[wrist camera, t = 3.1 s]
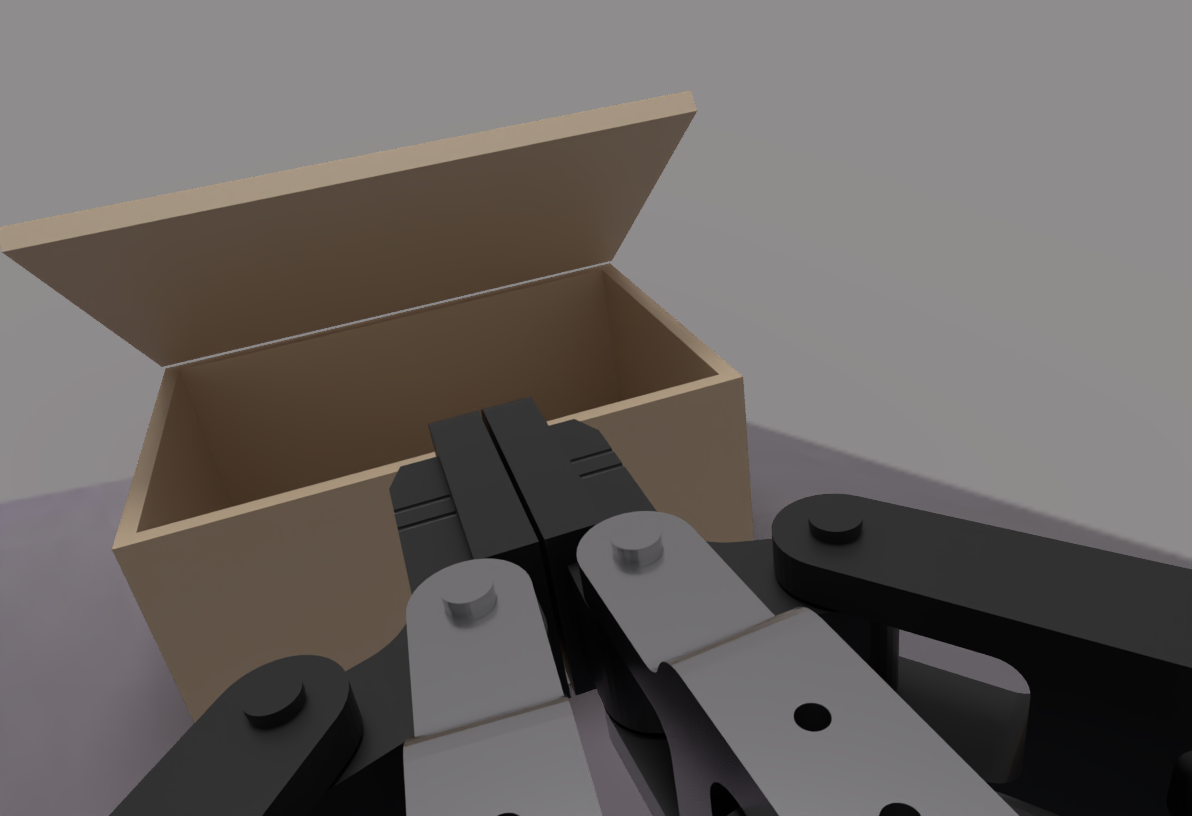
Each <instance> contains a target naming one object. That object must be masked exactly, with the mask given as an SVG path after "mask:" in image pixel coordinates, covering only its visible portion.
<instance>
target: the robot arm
mask: <svg viewBox="0 0 1192 816" xmlns="http://www.w3.org/2000/svg"><path fill="white" fill-rule="evenodd" d="M481 415H482V418H481V416H480V414H479V412H478V411H474V412H470V413H466V414H462V415H458V416H455V417H451V418H447V419H443V420H440V421H436V422H432V423H428V426H429V431H430V435H431V439H432V443H433V447H434V451H435V455H436V457H433V458H430V459H426V460H422V461H419V462H415V463H411V464H408V465H404V466H400V468H399V470H398V472H397V474H396V476H395V478H394V480H393V482H392V484H391V486H390V488H389V491H390V496H391V500H392V505H393V510H394V513H395V519H396V524H397V528H398V533H399V538H400V542H401V547H402V552H403V557H404V561H405V566H406V571H407V575H408V580H409V585H410V589H411V594H412V596H411V597H410V599H409V601H408V604H407V607H406V624H405V626H404V628H403V629H402V630H401V631H400V633H399V634H398V635H397V636H396V637H395V638H394V639H393V640H392V641H391V642H390V643H389V644H388V645H387V646H385V647H384V648H383V649H382V650H380V651H379V652H378V653H376V654H374V655H373V656H371V657H370V658H368V659H366V660H365V661H363V662H361V663H359V664H358V665H356V666H354V667H352V668H351V669H349V670H347V671H344V669H343V668H342V667H341V666H340V665H339V664H338V663H337V662H335V661H333V660H331V659H329V658H326V657H322V656H317V655H297V656H290V657H285V658H282V659H278V660H275V661H272V662H270V663H267V664H264V665H262V666H260V667H258V668H256V669H254V670H252V671H250V672H249V673H247V674H246V675H244V676H243V677H241V678H240V679H238V680H237V681H236V682H234V683H233V684H232V685H231V686H229V687H228V688H227V689H226V690H225V691H224V692H223V693H222V694H221V695H220V696H219V697H218V699H217V700H216V701H215V702H214V703H213V704H212V705H211V706H210V707H209V708H208V709H207V710H206V711H205V713H204V714H203V715H202V716H201V717H200V718H199V719H198V720H197V721H196V722H195V723H194V724H193V725H192V727H191V728H190V729H189V730H188V731H187V732H186V733H185V734H184V735H183V736H182V737H181V738H180V740H179V741H178V742H177V743H176V744H175V745H174V746H173V747H172V748H171V749H170V750H169V751H168V752H167V754H166V755H165V756H164V757H163V758H162V759H161V760H160V761H159V762H158V763H157V764H156V765H155V767H154V768H153V769H152V770H151V771H150V772H149V773H148V774H147V775H146V776H145V777H144V778H143V779H142V781H141V782H140V783H139V784H138V785H137V786H136V787H135V788H134V789H133V790H132V791H131V792H130V794H129V795H128V796H127V797H126V798H125V799H124V800H123V801H122V802H121V803H120V804H119V805H118V806H117V808H116V809H115V810H114V811H113V812H112V813H111V814H110V815H109V816H602V813H601V810H600V806H599V803H598V799H597V796H596V792H595V789H594V785H593V782H592V778H591V775H590V771H589V768H588V764H587V761H586V757H585V754H584V750H583V747H582V744H581V740H580V737H579V733H578V730H577V726H576V723H575V719H574V716H573V712H572V709H571V706H570V702H569V699H568V698H571V696H570V691H569V687H568V682H567V677H566V673H567V675H568V678H569V680H570V682H571V685H572V687H573V690H574V692H575V694H576V695H579V694H582V693H585V692H587V691H590V690H593V689H596V688H597V690H598V693H599V695H600V697H601V699H602V702H603V704H604V708H605V714H606V719H607V725H608V730H609V735H610V739H611V741H612V743H613V745H614V747H615V749H616V751H617V752H618V754H619V756H620V758H621V760H622V761H623V763H624V765H625V767H626V769H627V771H628V772H629V774H630V776H631V778H632V780H633V781H634V783H635V785H636V787H637V789H638V790H639V792H640V794H641V796H642V798H643V799H644V801H645V803H646V805H647V807H648V808H649V810H650V812H651V814H652V816H1192V570H1191V569H1187V568H1182V567H1178V566H1173V565H1168V564H1164V563H1159V562H1155V561H1150V560H1146V559H1141V558H1137V557H1132V556H1127V555H1123V554H1118V553H1114V552H1109V551H1105V550H1100V549H1096V548H1091V547H1086V546H1082V545H1077V544H1073V543H1068V542H1064V541H1059V540H1055V539H1050V538H1045V537H1041V536H1036V535H1032V534H1027V533H1023V532H1018V531H1014V530H1009V529H1004V528H1000V527H995V526H991V525H986V524H982V523H977V522H973V521H968V520H963V519H959V518H954V517H950V516H945V515H941V514H936V513H932V512H927V511H922V510H918V509H913V508H909V507H904V506H900V505H895V504H891V503H886V502H881V501H877V500H872V499H868V498H863V497H859V496H853V495H847V494H822V495H815V496H810V497H806V498H803V499H800V500H797V501H795V502H793V503H791V504H789V505H788V506H786V507H785V508H783V509H782V510H781V511H780V512H779V513H778V514H777V516H776V517H775V519H774V521H773V524H772V539H765V540H754V541H742V542H726V543H722V542H709V541H705V540H704V539H703V538H702V537H701V536H700V535H699V534H698V533H697V532H696V530H695V529H694V528H693V527H692V526H691V525H689V524H688V523H687V522H686V521H684V520H682V519H681V518H679V517H676V516H674V515H671V514H667V513H663V512H657V511H656V509H655V508H654V507H653V505H652V504H651V502H650V501H649V500H648V498H647V497H646V495H645V494H644V493H643V491H642V490H641V488H640V487H639V486H638V484H637V483H636V481H635V480H634V479H633V477H632V476H631V474H630V473H629V472H628V470H627V469H626V467H625V466H624V467H623V464H622V462H621V460H620V459H619V458H618V456H617V455H616V453H615V452H613V451H612V448H611V446H610V445H609V444H608V442H607V441H606V439H605V438H604V437H603V435H602V434H601V432H600V431H599V430H597V429H595V428H593V427H591V426H589V425H587V424H584V423H582V422H580V421H578V420H576V419H572V420H568V421H564V422H561V423H557V424H553V425H550V426H549V425H548V424H547V422H546V420H545V419H544V417H543V415H542V414H541V412H540V410H539V409H538V407H537V406H536V404H535V402H534V401H533V399H532V398H531V397H526V398H522V399H518V400H514V401H511V402H507V403H503V404H499V405H496V406H492V407H488V408H484V409H481ZM899 629H901V630H904V631H907V632H911V633H914V634H918V635H921V636H924V637H928V638H931V639H935V640H938V641H941V642H945V643H948V644H951V645H955V646H958V647H962V648H965V649H968V650H972V651H975V652H979V653H982V654H985V655H989V656H992V657H995V658H998V659H1000V660H1002V661H1004V662H1006V663H1008V664H1009V665H1011V666H1013V667H1014V668H1015V669H1016V670H1017V671H1018V672H1019V673H1020V674H1021V675H1022V676H1023V677H1024V679H1025V680H1026V681H1027V684H1028V686H1029V689H1030V694H1022V693H1016V692H1012V691H1009V690H1006V689H1003V688H999V687H996V686H993V685H990V684H986V683H983V682H980V681H977V680H974V679H970V678H967V677H964V676H961V675H958V674H954V673H951V672H948V671H945V670H942V669H938V668H935V667H932V666H929V665H925V664H922V663H919V662H916V661H913V660H909V659H906V658H903V657H900V656H899ZM565 670H566V672H565Z"/></svg>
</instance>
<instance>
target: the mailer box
mask: <svg viewBox="0 0 1192 816" xmlns="http://www.w3.org/2000/svg"><path fill="white" fill-rule="evenodd" d="M526 397H531V398H532V399H533V401H534V402H535V404H536V406H537V407H538V409H539V410H540V412H541V414H542V415H543V417H544V419H545V420H546V422H547V424H548V425H549V426H550V425H553V424H557V423H561V422H564V421H568V420H572V419H576V420H578V421H580V422H582V423H584V424H587V425H589V426H591V427H593V428H595V429H597V430H599V431H600V432H601V434H602V435H603V437H604V438H605V439H606V441H607V442H608V444H609V445H610V446H611V448H612V451H613V452H615V453H616V455H617V456H618V458H619V459H620V460H621V462H622V464H623V467H624V466H625V467H626V469H627V470H628V472H629V473H630V474H631V476H632V477H633V479H634V480H635V481H636V483H637V484H638V486H639V487H640V488H641V490H642V491H643V493H644V494H645V495H646V497H647V498H648V500H649V501H650V502H651V504H652V505H653V507H654V508H655V509H656V511H657V512H663V513H667V514H671V515H674V516H676V517H679V518H681V519H682V520H684V521H686V522H687V523H688V524H689V525H691V526H692V527H693V528H694V529H695V530H696V532H697V533H698V534H699V535H700V536H701V537H702V538H703V539H704V540H705V541H709V542H722V543H726V542H742V541H754V533H753V518H752V503H751V488H750V473H749V458H748V443H747V428H746V414H745V399H744V384H743V377H742V375H740V374H739V373H738V372H737V371H736V370H735V369H733V368H732V367H731V366H730V365H729V364H728V363H726V362H725V361H724V360H723V359H722V358H720V357H719V356H718V355H717V354H716V353H715V352H713V351H712V350H711V349H710V348H709V347H708V346H706V345H705V344H704V343H703V342H702V341H700V340H699V339H698V338H697V337H696V336H695V335H693V334H692V333H691V332H690V331H689V330H687V329H686V328H685V327H684V326H683V325H682V324H681V323H679V322H678V321H677V320H676V319H675V318H673V317H672V316H671V315H670V314H669V313H668V312H666V311H665V310H664V309H663V308H662V307H661V306H659V305H658V304H657V303H656V302H654V301H653V300H652V299H651V298H650V297H649V296H648V295H646V294H645V293H644V292H643V291H642V290H641V289H639V288H638V287H637V286H636V285H635V284H633V283H632V282H631V281H630V280H629V279H628V278H626V277H625V276H624V275H623V274H621V273H620V272H619V271H618V270H617V269H616V268H614V267H613V266H612V265H611V264H605V265H601V266H597V267H593V268H589V269H584V270H580V271H576V272H572V273H568V274H564V275H559V276H555V277H550V278H547V279H542V280H538V281H534V282H529V283H525V284H522V285H517V286H513V287H508V288H504V289H500V290H496V291H491V292H487V293H483V294H479V295H475V296H470V297H466V298H462V299H458V300H453V301H449V302H445V303H441V304H436V305H432V306H428V307H424V308H420V309H416V310H411V311H407V312H403V313H399V314H394V315H390V316H386V317H382V318H377V319H373V320H369V321H365V322H361V323H356V324H352V325H348V326H344V327H340V328H335V329H331V330H327V331H322V332H318V333H314V334H310V335H306V336H302V337H297V338H293V339H289V340H284V341H281V342H276V343H272V344H268V345H264V346H259V347H255V348H251V349H246V350H242V351H238V352H234V353H230V354H225V355H221V356H217V357H213V358H208V359H205V360H200V361H196V362H192V363H187V364H183V365H179V366H175V367H170V368H166V369H165V373H164V376H163V380H162V383H161V386H160V390H159V393H158V397H157V400H156V403H155V406H154V410H153V413H152V417H151V420H150V424H149V427H148V430H147V433H146V437H145V440H144V443H143V447H142V450H141V454H140V457H139V460H138V464H137V467H136V470H135V474H134V477H133V480H132V484H131V487H130V491H129V494H128V497H127V501H126V504H125V507H124V511H123V514H122V517H121V521H120V524H119V528H118V531H117V534H116V538H115V541H114V544H113V548H112V551H113V553H114V555H115V557H116V559H117V561H118V563H119V565H120V567H121V570H122V572H123V574H124V576H125V578H126V580H127V582H128V584H129V586H130V588H131V590H132V593H133V595H134V597H135V599H136V601H137V603H138V605H139V607H140V609H141V611H142V614H143V616H144V618H145V620H146V622H147V624H148V626H149V628H150V630H151V632H152V634H153V637H154V639H155V641H156V643H157V645H158V647H159V649H160V651H161V653H162V655H163V657H164V660H165V662H166V664H167V666H168V668H169V670H170V672H171V674H172V676H173V678H174V681H175V683H176V685H177V687H178V689H179V691H180V693H181V695H182V697H183V699H184V701H185V704H186V706H187V708H188V710H189V712H190V714H191V716H192V718H193V720H194V722H196V721H197V720H198V719H199V718H200V717H201V716H202V715H203V714H204V713H205V711H206V710H207V709H208V708H209V707H210V706H211V705H212V704H213V703H214V702H215V701H216V700H217V699H218V697H219V696H220V695H221V694H222V693H223V692H224V691H225V690H226V689H227V688H228V687H229V686H231V685H232V684H233V683H234V682H236V681H237V680H238V679H240V678H241V677H243V676H244V675H246V674H247V673H249V672H250V671H252V670H254V669H256V668H258V667H260V666H262V665H264V664H267V663H270V662H272V661H275V660H278V659H282V658H285V657H290V656H297V655H317V656H322V657H326V658H329V659H331V660H333V661H335V662H337V663H338V664H339V665H340V666H341V667H342V668H343V669H344V671H347V670H349V669H351V668H352V667H354V666H356V665H358V664H359V663H361V662H363V661H365V660H366V659H368V658H370V657H371V656H373V655H374V654H376V653H378V652H379V651H380V650H382V649H383V648H384V647H385V646H387V645H388V644H389V643H390V642H391V641H392V640H393V639H394V638H395V637H396V636H397V635H398V634H399V633H400V631H401V630H402V629H403V628H404V626H405V624H406V607H407V604H408V601H409V599H410V597H411V596H412V594H411V589H410V585H409V580H408V575H407V571H406V566H405V561H404V557H403V552H402V547H401V542H400V538H399V533H398V528H397V524H396V519H395V513H394V510H393V505H392V500H391V496H390V491H389V488H390V486H391V484H392V482H393V480H394V478H395V476H396V474H397V472H398V470H399V468H400V466H404V465H408V464H411V463H415V462H419V461H422V460H426V459H430V458H433V457H436V455H435V451H434V447H433V443H432V439H431V435H430V431H429V426H428V423H432V422H436V421H440V420H443V419H447V418H451V417H455V416H458V415H462V414H466V413H470V412H474V411H478V412H479V414H480V416H481V418H482V415H481V409H484V408H488V407H492V406H496V405H499V404H503V403H507V402H511V401H514V400H518V399H522V398H526ZM565 672H566V670H565ZM566 677H567V682H568V684H570V683H571V682H570V680H569V678H568V675H567V673H566Z"/></svg>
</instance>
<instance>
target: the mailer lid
mask: <svg viewBox="0 0 1192 816" xmlns="http://www.w3.org/2000/svg"><path fill="white" fill-rule="evenodd" d="M696 112H697V108H696V105H695V102H694V99H693V96H692V93H691V91H685V92H680V93H675V94H670V95H665V96H659V97H654V98H649V99H644V100H639V101H634V102H629V103H624V104H619V105H614V106H609V107H604V108H599V109H593V110H589V111H584V112H579V113H574V114H568V115H564V116H558V117H553V118H548V119H543V120H538V121H533V122H528V123H523V124H518V125H513V126H508V127H503V128H497V129H492V130H488V131H483V132H477V133H472V134H468V135H462V136H457V137H452V138H447V139H442V140H437V141H432V142H427V143H422V144H416V145H411V146H406V147H401V148H396V149H391V150H386V151H381V152H376V153H371V154H366V155H361V156H357V157H351V158H346V159H341V160H336V161H331V162H325V163H321V164H316V165H310V166H305V167H300V168H295V169H290V170H285V171H280V172H275V173H270V174H265V175H260V176H255V177H250V178H245V179H239V180H234V181H230V182H224V183H219V184H214V185H209V186H204V187H199V188H195V189H189V190H184V191H179V192H174V193H169V194H164V195H159V196H154V197H148V198H144V199H138V200H133V201H128V202H123V203H118V204H113V205H108V206H103V207H98V208H93V209H88V210H83V211H78V212H73V213H68V214H63V215H57V216H52V217H47V218H42V219H38V220H32V221H27V222H22V223H17V224H12V225H7V226H2V227H0V247H1V251H2V253H4V254H5V255H7V256H8V257H9V258H11V259H12V260H13V261H15V262H16V263H18V264H19V265H20V266H22V267H23V268H25V269H26V270H27V271H29V272H30V273H32V274H33V275H35V276H36V277H37V278H39V279H40V280H41V281H43V282H44V283H46V284H47V285H48V286H50V287H51V288H53V289H54V290H55V291H57V292H58V293H60V294H61V295H63V296H64V297H65V298H67V299H68V300H69V301H71V302H72V303H74V304H75V305H76V306H78V307H79V308H81V309H82V310H83V311H85V312H86V313H87V314H89V315H90V316H92V317H93V318H94V319H96V320H97V321H99V322H100V323H101V324H103V325H104V326H106V327H107V328H108V329H110V330H111V331H113V332H114V333H115V334H117V335H118V336H120V337H121V338H123V339H124V340H125V341H127V342H128V343H129V344H131V345H132V346H134V347H135V348H136V349H138V350H139V351H141V352H142V353H143V354H145V355H146V356H148V357H149V358H150V359H152V360H153V361H154V362H156V363H158V364H159V365H160V366H161V367H163V366H167V365H171V364H175V363H180V362H184V361H188V360H193V359H197V358H201V357H205V356H209V355H214V354H218V353H222V352H227V351H231V350H235V349H239V348H244V347H248V346H252V345H256V344H260V343H265V342H268V341H273V340H277V339H281V338H286V337H290V336H294V335H299V334H302V333H307V332H311V331H315V330H320V329H324V328H328V327H332V326H337V325H341V324H345V323H349V322H354V321H358V320H361V319H366V318H370V317H375V316H379V315H383V314H387V313H391V312H396V311H400V310H404V309H409V308H413V307H417V306H421V305H425V304H429V303H434V302H438V301H442V300H447V299H451V298H455V297H459V296H464V295H468V294H472V293H476V292H480V291H485V290H489V289H493V288H497V287H501V286H506V285H510V284H515V283H519V282H523V281H527V280H531V279H536V278H540V277H544V276H548V275H553V274H557V273H561V272H565V271H570V270H574V269H578V268H582V267H586V266H591V265H595V264H599V263H603V262H608V261H612V259H613V258H614V256H615V254H616V252H617V251H618V249H619V247H620V245H621V244H622V242H623V240H624V238H625V237H626V235H627V233H628V231H629V230H630V228H631V226H632V224H633V223H634V221H635V219H636V217H637V216H638V214H639V212H640V210H641V209H642V207H643V205H644V203H645V201H646V200H647V198H648V196H649V195H650V193H651V191H652V189H653V188H654V186H655V184H656V182H657V180H658V179H659V177H660V175H661V173H662V172H663V170H664V168H665V166H666V165H667V163H668V161H669V159H670V158H671V156H672V154H673V152H674V151H675V149H676V147H677V145H678V144H679V142H680V140H681V138H682V137H683V135H684V133H685V131H686V130H687V128H688V126H689V124H690V122H691V121H692V119H693V117H694V116H695V114H696Z"/></svg>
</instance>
